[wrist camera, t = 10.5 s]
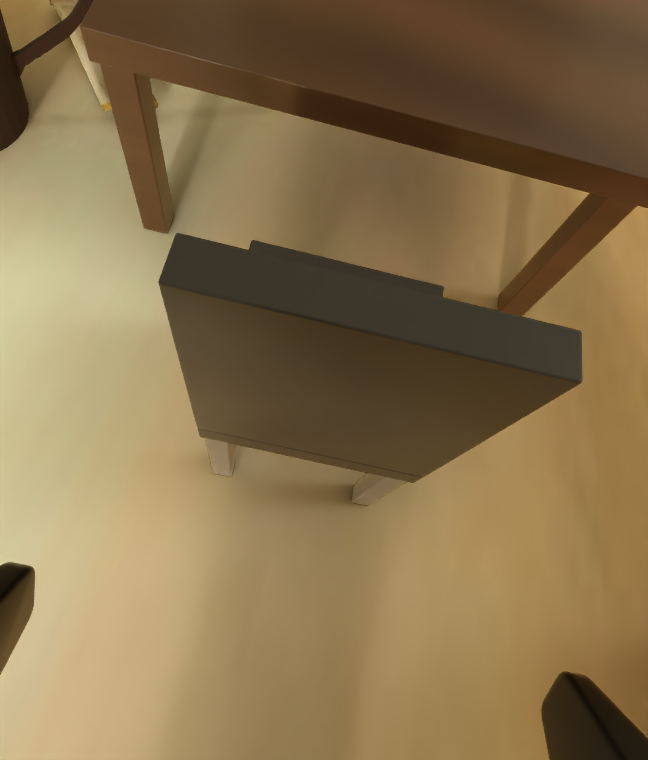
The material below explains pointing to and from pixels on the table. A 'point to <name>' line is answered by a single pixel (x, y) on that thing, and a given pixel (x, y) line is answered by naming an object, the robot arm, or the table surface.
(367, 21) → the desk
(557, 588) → the table surface
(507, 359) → the dark high-back seat
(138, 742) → the table surface
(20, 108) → the coffee mug
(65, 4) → the snack bar
